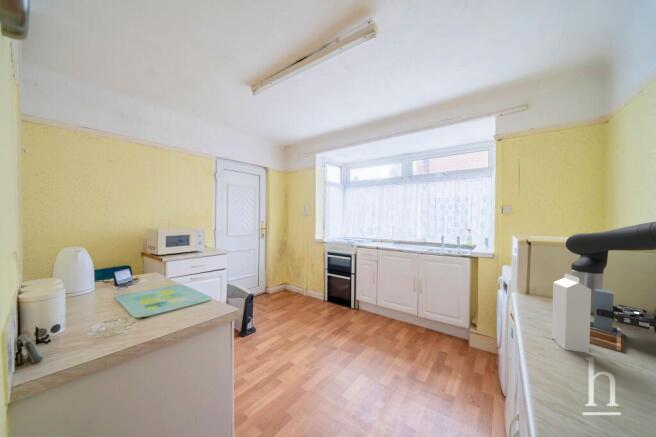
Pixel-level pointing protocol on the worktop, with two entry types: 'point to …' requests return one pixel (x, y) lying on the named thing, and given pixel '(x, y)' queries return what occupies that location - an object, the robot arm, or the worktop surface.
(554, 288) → the milk
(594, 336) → the socket board
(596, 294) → the post
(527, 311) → the worktop surface
